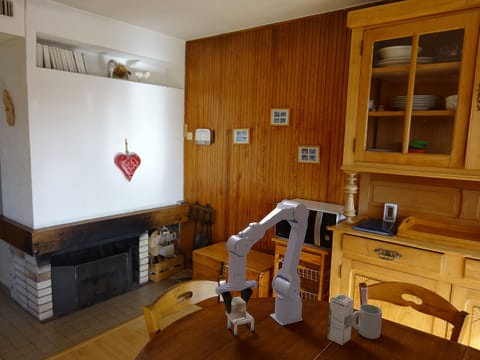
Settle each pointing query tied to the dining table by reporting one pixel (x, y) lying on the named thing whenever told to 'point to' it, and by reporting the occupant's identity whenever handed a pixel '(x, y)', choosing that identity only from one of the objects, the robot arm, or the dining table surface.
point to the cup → (368, 321)
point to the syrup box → (340, 319)
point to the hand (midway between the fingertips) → (236, 310)
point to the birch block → (237, 308)
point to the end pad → (239, 318)
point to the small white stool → (241, 322)
